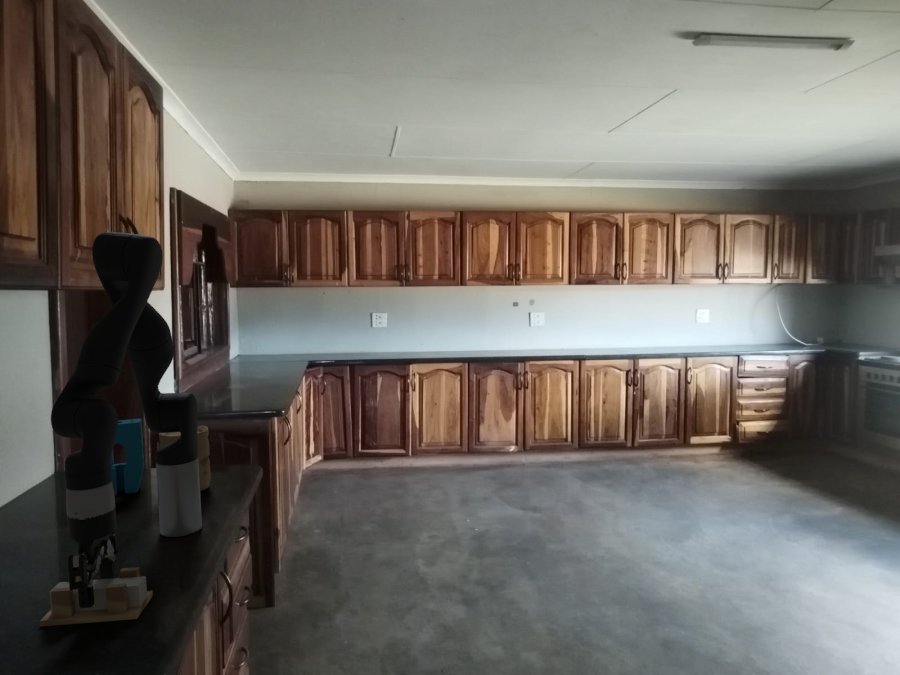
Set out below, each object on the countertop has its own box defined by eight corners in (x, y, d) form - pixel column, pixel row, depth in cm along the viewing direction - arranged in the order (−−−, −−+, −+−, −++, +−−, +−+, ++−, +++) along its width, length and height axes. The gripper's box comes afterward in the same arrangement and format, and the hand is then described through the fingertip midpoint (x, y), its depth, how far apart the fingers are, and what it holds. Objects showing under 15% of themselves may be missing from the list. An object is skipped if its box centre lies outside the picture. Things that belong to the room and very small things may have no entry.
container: (161, 489, 173) (157, 428, 172) (208, 482, 179) (205, 422, 177) (164, 504, 162) (160, 438, 161) (214, 495, 168) (210, 432, 166)
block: (145, 485, 177) (141, 418, 175) (144, 491, 173) (140, 422, 170) (98, 491, 172) (93, 422, 170) (96, 497, 168) (91, 426, 166)
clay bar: (61, 603, 112) (59, 582, 111) (147, 596, 114) (145, 576, 113) (51, 613, 108) (49, 592, 108) (140, 606, 110) (138, 585, 110)
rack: (63, 602, 114) (60, 571, 113) (152, 595, 116) (151, 565, 115) (40, 626, 106) (37, 593, 105) (137, 618, 108) (134, 586, 107)
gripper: (87, 495, 116) (93, 576, 117) (47, 525, 101) (55, 617, 103) (129, 493, 116) (134, 573, 118) (95, 523, 102) (102, 614, 104)
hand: (97, 594), depth 111 cm, fingers open, 8 cm apart
